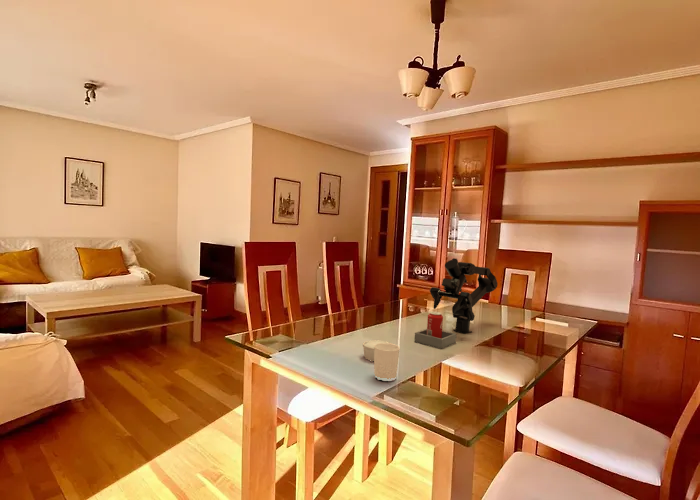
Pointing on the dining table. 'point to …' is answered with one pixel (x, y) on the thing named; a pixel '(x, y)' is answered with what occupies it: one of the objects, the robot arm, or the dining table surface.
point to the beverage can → (435, 324)
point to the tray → (435, 339)
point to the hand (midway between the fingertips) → (443, 310)
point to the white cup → (386, 360)
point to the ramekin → (371, 348)
